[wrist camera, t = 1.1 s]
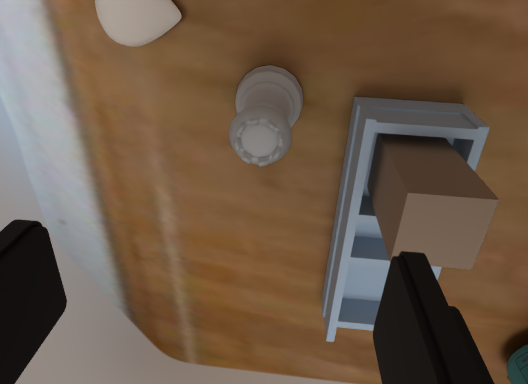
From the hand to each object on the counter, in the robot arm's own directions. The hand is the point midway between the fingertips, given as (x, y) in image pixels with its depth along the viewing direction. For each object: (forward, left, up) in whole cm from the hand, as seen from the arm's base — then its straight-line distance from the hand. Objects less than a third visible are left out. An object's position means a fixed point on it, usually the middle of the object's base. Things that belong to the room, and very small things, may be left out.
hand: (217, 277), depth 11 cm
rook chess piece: (0, 0, -18) cm, 18 cm away
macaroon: (+8, -5, -18) cm, 20 cm away
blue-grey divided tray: (-9, +9, -18) cm, 22 cm away
